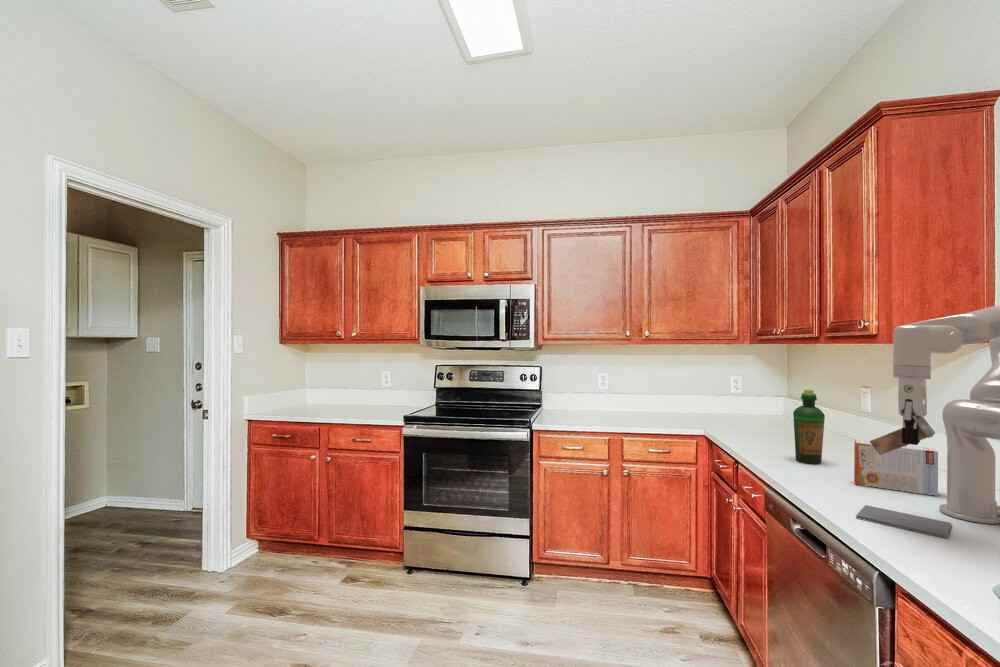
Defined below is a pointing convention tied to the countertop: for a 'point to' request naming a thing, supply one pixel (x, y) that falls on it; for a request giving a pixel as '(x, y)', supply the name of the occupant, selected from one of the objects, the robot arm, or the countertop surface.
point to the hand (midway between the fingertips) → (910, 442)
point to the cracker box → (897, 468)
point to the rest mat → (905, 521)
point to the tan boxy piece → (895, 438)
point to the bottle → (808, 430)
